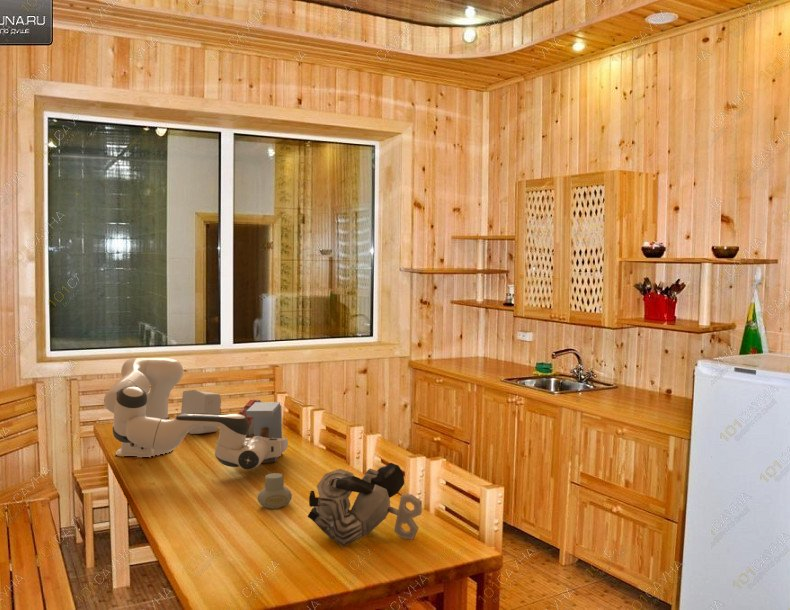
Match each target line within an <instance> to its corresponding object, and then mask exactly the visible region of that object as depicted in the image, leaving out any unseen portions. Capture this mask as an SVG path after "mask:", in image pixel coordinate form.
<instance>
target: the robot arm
mask: <svg viewBox="0 0 790 610" xmlns="http://www.w3.org/2000/svg"><path fill="white" fill-rule="evenodd" d="M121 376H122V378H120V379H119V380H117V382H115V383H114V384H113V385H112V386H111V387H110V388H109V389H108V391H107V392H106V394H105V395H104V398H103V404H104V407H105V408H106V410H107V411H109V412H110V413H113V423H112V424H113V426H112V435H113V436H114V438H115V439H116V440H117V441H119V442H121V447H120V448H118V449H117V450H116V451H115V456H116V455H122V456H121V457H124V456H137V457H136V458H142V457H149V458H152V457H151V456H153V457H156V456H155V455H157V456H161V455H160V454H163V455H166V454H165V453H167V454H169V452H170V453H172V452H173V451H174V449H176V448H177V447H179V445H180V444H181V443H182V442H183V440H184V439H185V437H186V436H187V435H188V434H189V433H188V432H189V430H190V429H192V428H193V427H195V426H218V428H220V430H219V435H218V439H217V442H216V446H215V451H214V456H215V458H216V460H217V461H218V462H219V463H220V464H221V465H223V466H226V467H231V468H239V467H240V468H241V469H243V470H245V471H246V470H247V471H249V470H254V469H256V468H258V467H259V466H260V465H261V464H263V463H262V461H263V460H265V459H268V458H273V457H279V456H280V457H281V456H282V455H281V453H284V452H285V451H287V449H288V447H289V440H288V438H287V437H282V438H273V437H270V438H266V437H262V436H255V437H254V436H251V437H246V435H247V433H248V430H249V427H250V424H249V422H248V420H247V418H246V417H245V416H244V415H241V414H238V413H225V414H224V413H221V414H205V413H184V414H181V413H179V414H177V416H176V417H174V418H170V416H169V398H170V394H171V391H172V389H173V388H174V387H175V386H176V385H177V384H179V382H180V381H181V379H182V378H183V376H184V368H183V365H182V363H181V362H180V361H179V360H176V359H173V358H169V357H167V358H166V357H165V358H164V357H137V358H136V357H135V358H131V359H127V360H125V361H124V363H123V365H122V366H121ZM172 450H173V451H172ZM171 451H172V452H171ZM280 457H279V458H280Z"/></svg>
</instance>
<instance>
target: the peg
mask: <svg viewBox="0 0 790 610" xmlns="http://www.w3.org/2000/svg"><path fill="white" fill-rule="evenodd" d="M260 436H262V437H266V438H269V428H268V427H262V428H260Z"/></svg>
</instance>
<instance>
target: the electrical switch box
mask: <svg viewBox="0 0 790 610" xmlns="http://www.w3.org/2000/svg"><path fill="white" fill-rule="evenodd" d="M221 400H222V398H221V394H220V393H217V392H208V391H201V390H200V391H199V390H196V389H192V390H191V389H190V390H183V391H182V397H181V411H180V414H184V413H205V414H222V413H221V411H222V409H221V406H222V401H221ZM218 430H219V427H218V426H195V427H193V428H192V429H190V430H189V432H188V433H187V434H189V435H199V434H208V433H215V432H218Z"/></svg>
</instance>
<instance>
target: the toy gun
mask: <svg viewBox="0 0 790 610" xmlns="http://www.w3.org/2000/svg"><path fill="white" fill-rule="evenodd" d="M255 402H262V401H261V400H260V399H257V398H256V399H255V398H254V399H249V400H248V401H247V403H246V404H245V405H244V406H243V408H242V409H240V410H239V412H238V413H237V414H241V415H244V416H245V417H246V418H247V420H248V422H249V424H250V427H249V430H248V433H247V435H246V436H249V437H248V438H251V437H253V436H254V435H253V434H254V418H253V417H247V415H246V411H247V410H248V409H249V408H250V407H251V406H252V405H253V404H254V403H255Z"/></svg>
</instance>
